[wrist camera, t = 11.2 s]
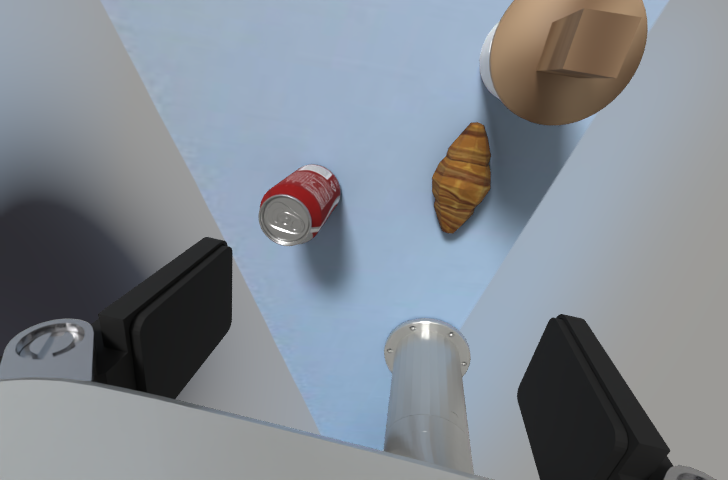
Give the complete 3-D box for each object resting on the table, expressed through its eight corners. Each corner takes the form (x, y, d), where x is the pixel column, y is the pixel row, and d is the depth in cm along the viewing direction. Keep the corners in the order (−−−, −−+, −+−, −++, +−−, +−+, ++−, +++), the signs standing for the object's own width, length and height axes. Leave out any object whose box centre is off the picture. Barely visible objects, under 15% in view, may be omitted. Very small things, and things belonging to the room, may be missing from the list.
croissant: (446, 115, 42) (448, 120, 38) (505, 126, 42) (514, 132, 37) (419, 223, 48) (418, 238, 43) (471, 234, 47) (476, 250, 43)
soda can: (304, 153, 46) (266, 176, 36) (351, 180, 47) (328, 210, 36) (283, 197, 49) (243, 231, 38) (327, 222, 50) (300, 262, 39)
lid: (668, -20, 25) (748, -53, 19) (602, 135, 30) (649, 150, 23) (514, -43, 26) (543, -82, 20) (472, 111, 31) (484, 119, 24)
